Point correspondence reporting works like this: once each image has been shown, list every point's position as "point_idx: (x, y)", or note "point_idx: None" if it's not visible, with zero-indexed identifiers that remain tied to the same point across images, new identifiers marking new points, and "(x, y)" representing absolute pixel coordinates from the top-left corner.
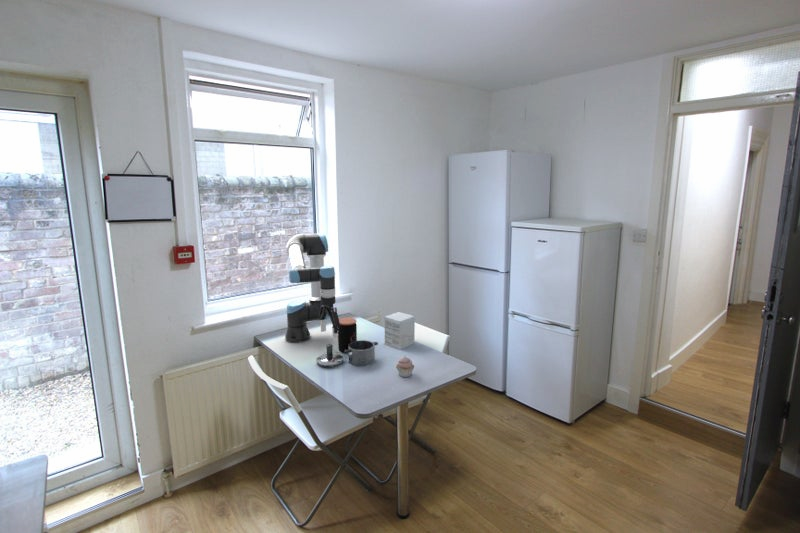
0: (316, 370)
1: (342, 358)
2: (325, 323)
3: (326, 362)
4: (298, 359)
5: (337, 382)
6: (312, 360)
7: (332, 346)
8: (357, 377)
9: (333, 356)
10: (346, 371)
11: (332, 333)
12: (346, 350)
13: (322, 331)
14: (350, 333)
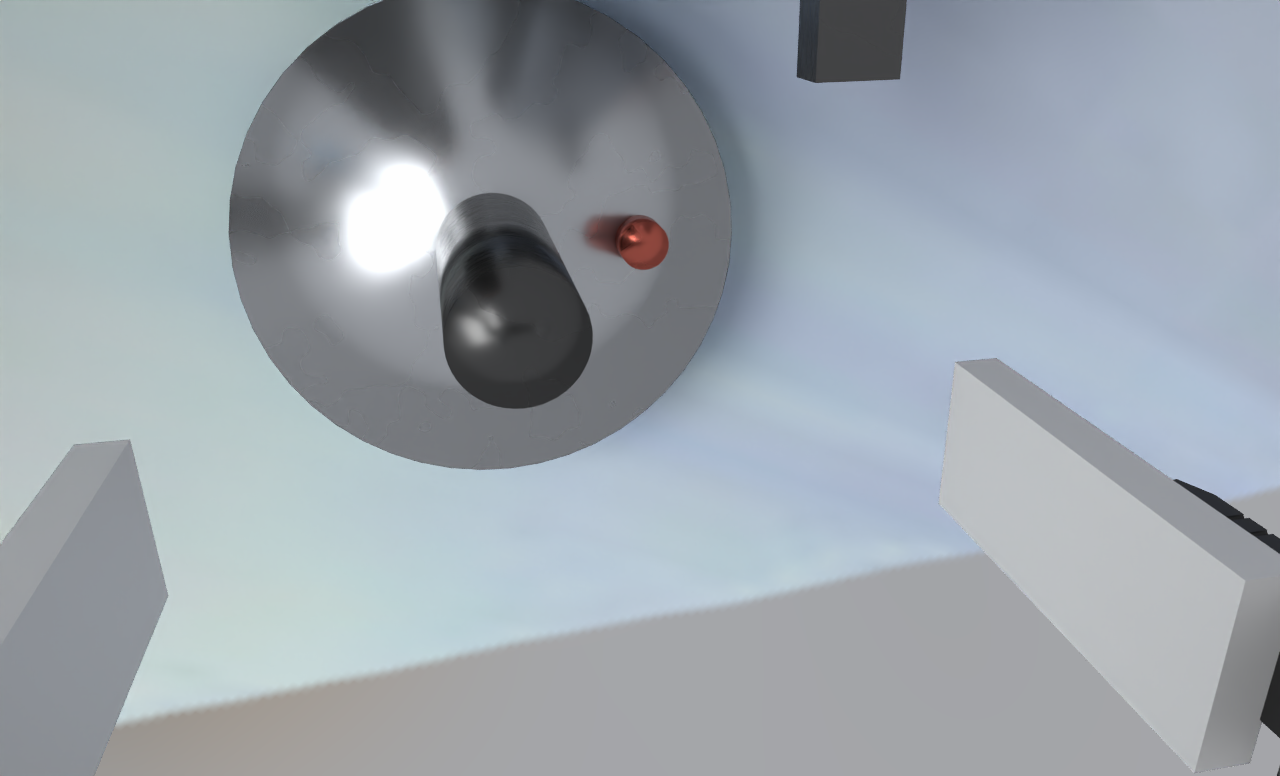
0: (629, 495)
1: (622, 36)
2: (26, 632)
3: (611, 357)
4: None
5: (1092, 378)
6: (244, 444)
7: (551, 268)
8: (1179, 85)
9: (438, 149)
10: (928, 135)
11: (1033, 601)
12: (867, 42)
13: (155, 569)
14: None
